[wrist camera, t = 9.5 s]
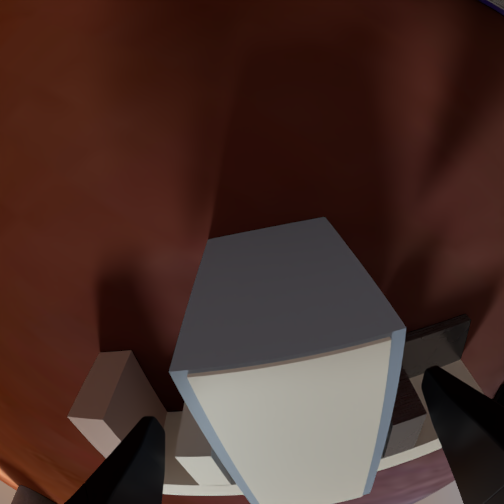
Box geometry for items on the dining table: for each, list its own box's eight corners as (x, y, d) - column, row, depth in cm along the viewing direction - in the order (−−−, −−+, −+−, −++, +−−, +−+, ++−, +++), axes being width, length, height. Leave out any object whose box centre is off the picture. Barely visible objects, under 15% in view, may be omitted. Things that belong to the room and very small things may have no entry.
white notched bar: (471, 282, 13) (528, 338, 8) (451, 370, 15) (485, 426, 11) (92, 352, 14) (55, 423, 9) (141, 425, 17) (124, 489, 12)
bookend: (465, 313, 14) (514, 371, 9) (455, 353, 15) (494, 410, 10) (359, 346, 14) (393, 425, 9) (358, 384, 15) (383, 458, 11)
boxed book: (324, 216, 12) (408, 331, 5) (337, 379, 15) (370, 495, 8) (208, 238, 12) (167, 375, 5) (254, 394, 15) (257, 514, 9)
